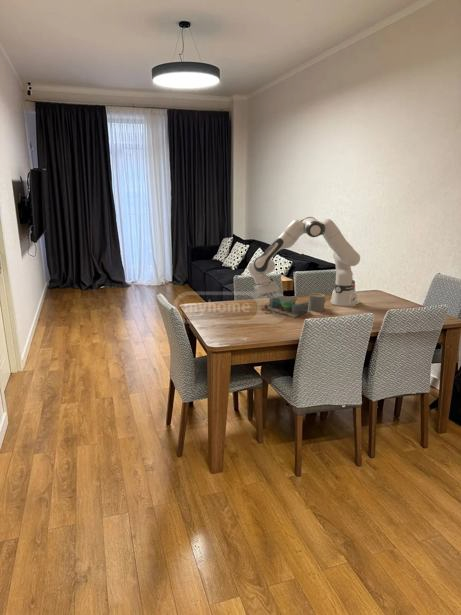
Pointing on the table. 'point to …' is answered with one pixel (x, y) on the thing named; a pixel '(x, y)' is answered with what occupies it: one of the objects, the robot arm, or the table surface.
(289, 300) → the food container
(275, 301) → the vise free jaw
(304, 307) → the vise
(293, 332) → the table surface
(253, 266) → the robot arm
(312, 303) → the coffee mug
